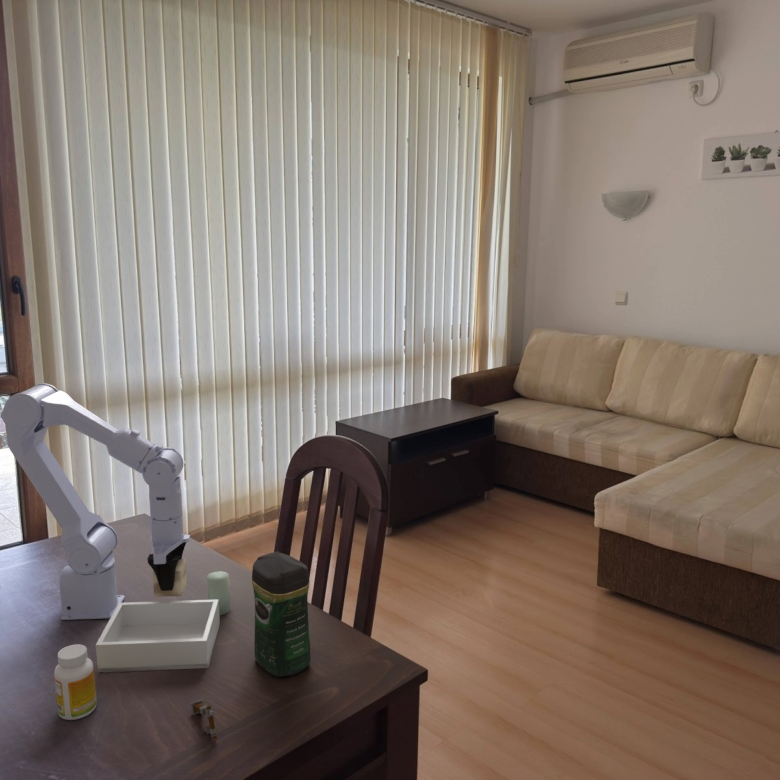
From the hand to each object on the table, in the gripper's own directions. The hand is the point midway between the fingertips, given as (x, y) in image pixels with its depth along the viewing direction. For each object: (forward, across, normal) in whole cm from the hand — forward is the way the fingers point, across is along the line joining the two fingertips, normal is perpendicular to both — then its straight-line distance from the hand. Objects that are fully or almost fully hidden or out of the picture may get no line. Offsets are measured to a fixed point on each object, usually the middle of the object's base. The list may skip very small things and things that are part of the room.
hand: (170, 582), depth 136 cm
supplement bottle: (+6, -29, +8) cm, 31 cm away
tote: (+5, -13, -1) cm, 14 cm away
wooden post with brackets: (+6, -34, -12) cm, 36 cm away
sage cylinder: (+5, -1, -9) cm, 11 cm away
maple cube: (+2, 0, 0) cm, 2 cm away
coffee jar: (+6, -19, -22) cm, 30 cm away
